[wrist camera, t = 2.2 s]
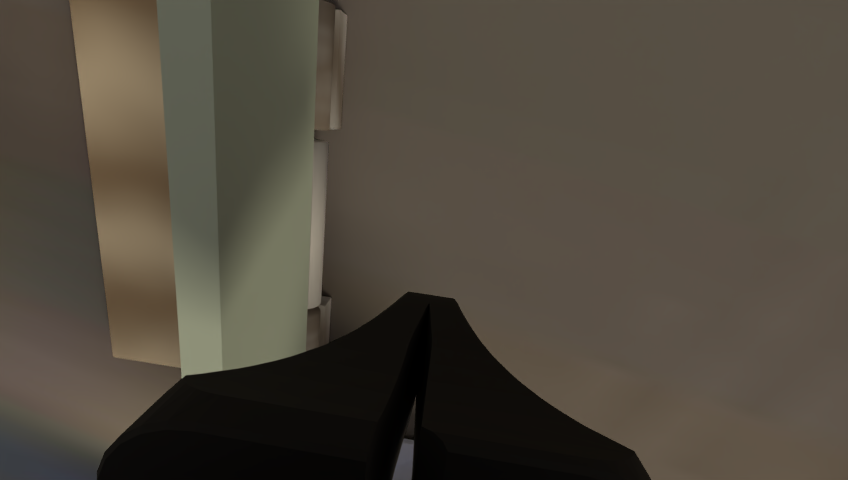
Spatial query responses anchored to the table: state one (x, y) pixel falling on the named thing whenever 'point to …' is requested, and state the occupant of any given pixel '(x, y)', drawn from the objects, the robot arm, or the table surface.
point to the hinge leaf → (243, 177)
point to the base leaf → (156, 166)
